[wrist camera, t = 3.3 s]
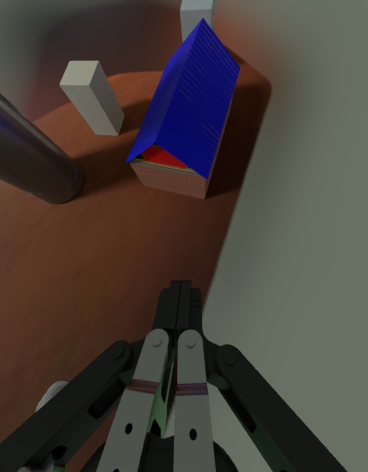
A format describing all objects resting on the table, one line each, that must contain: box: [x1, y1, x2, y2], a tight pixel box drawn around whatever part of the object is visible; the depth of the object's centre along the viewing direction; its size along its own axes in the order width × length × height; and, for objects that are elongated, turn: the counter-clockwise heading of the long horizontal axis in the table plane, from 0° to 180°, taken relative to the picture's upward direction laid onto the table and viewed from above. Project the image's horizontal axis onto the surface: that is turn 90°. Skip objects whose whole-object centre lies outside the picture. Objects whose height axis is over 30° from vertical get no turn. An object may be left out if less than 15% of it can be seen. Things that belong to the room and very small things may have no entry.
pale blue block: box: [180, 0, 215, 42], centre depth 31 cm, size 5×5×9 cm
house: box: [126, 18, 240, 199], centre depth 25 cm, size 12×20×12 cm, turn 163°
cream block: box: [60, 61, 124, 136], centre depth 30 cm, size 5×5×9 cm
